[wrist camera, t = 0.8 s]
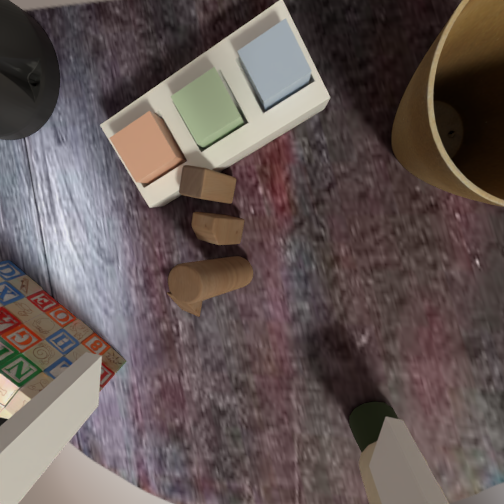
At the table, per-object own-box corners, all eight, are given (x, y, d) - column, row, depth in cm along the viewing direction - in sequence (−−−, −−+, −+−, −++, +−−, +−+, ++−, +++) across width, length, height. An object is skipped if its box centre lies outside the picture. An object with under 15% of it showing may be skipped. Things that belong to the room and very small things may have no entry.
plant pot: (489, 202, 33) (680, 210, 17) (354, 204, 34) (417, 212, 19) (510, 56, 30) (761, -94, 14) (361, 64, 31) (443, -64, 16)
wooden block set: (212, 174, 38) (150, 156, 28) (272, 184, 34) (223, 166, 25) (190, 305, 40) (127, 327, 31) (243, 328, 37) (189, 360, 28)
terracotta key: (127, 143, 33) (109, 137, 29) (163, 119, 32) (149, 110, 29) (150, 183, 33) (136, 182, 30) (186, 160, 33) (176, 157, 29)
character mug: (398, 452, 40) (453, 572, 27) (345, 451, 41) (375, 567, 28) (400, 381, 38) (461, 475, 25) (344, 381, 39) (376, 473, 26)
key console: (119, 132, 35) (99, 125, 31) (281, 23, 31) (282, -2, 27) (163, 206, 36) (149, 207, 32) (324, 109, 33) (330, 97, 29)
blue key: (242, 67, 30) (237, 51, 27) (284, 38, 29) (285, 18, 26) (265, 111, 31) (263, 101, 27) (307, 85, 30) (311, 71, 27)
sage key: (182, 107, 31) (170, 96, 28) (221, 80, 31) (214, 66, 27) (205, 149, 32) (197, 143, 29) (245, 124, 31) (240, 116, 28)
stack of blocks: (-13, 289, 41) (-133, 328, 29) (10, 258, 40) (-107, 286, 28) (103, 387, 43) (34, 464, 31) (128, 360, 41) (67, 429, 29)
